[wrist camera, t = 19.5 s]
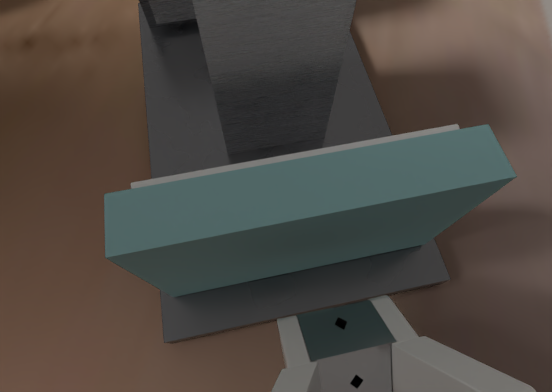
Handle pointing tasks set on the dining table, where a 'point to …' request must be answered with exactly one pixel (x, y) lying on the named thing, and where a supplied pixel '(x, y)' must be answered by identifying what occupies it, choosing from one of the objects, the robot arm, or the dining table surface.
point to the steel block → (273, 66)
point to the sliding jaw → (301, 208)
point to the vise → (213, 153)
